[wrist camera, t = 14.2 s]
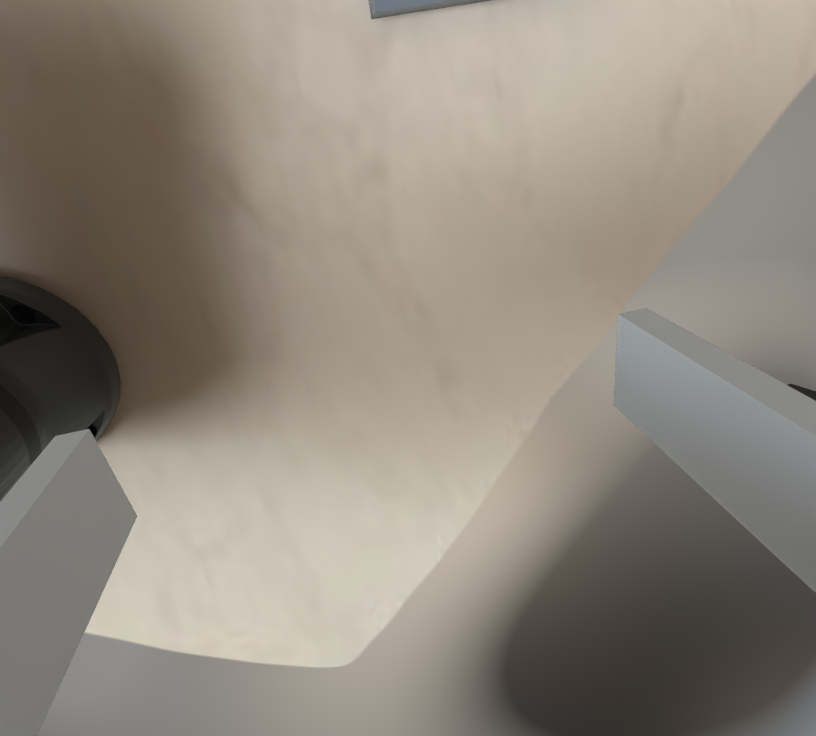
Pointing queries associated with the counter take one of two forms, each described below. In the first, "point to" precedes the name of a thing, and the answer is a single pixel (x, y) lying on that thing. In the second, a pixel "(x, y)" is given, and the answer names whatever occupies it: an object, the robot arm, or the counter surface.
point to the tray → (410, 6)
